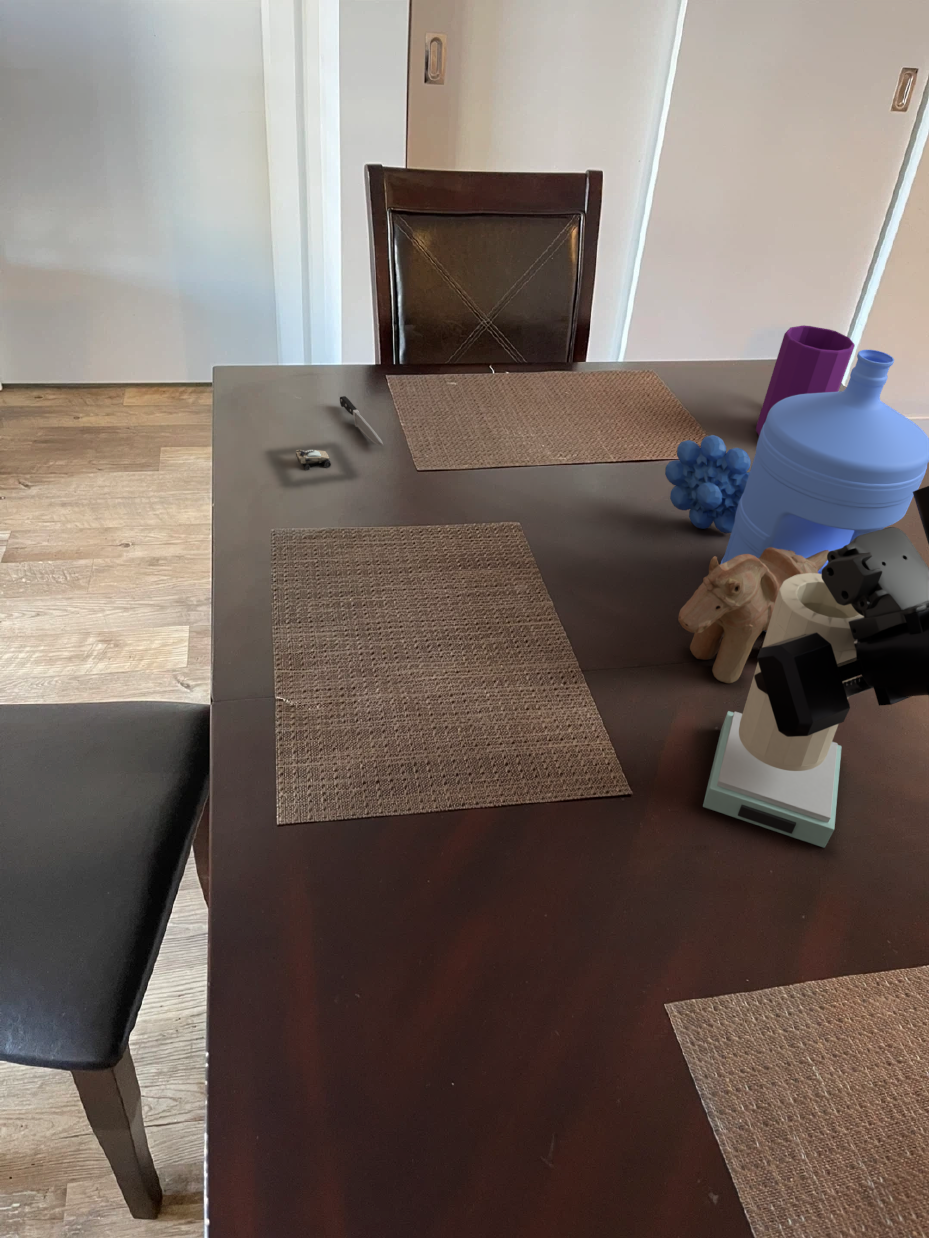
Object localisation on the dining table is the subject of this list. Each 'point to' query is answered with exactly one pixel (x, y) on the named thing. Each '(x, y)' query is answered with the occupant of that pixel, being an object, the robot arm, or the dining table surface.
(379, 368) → the dining table surface
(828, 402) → the water jug
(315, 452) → the toy car
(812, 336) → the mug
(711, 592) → the figurine
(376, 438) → the knife
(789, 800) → the scale
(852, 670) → the robot arm
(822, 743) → the jar
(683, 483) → the blue knobby flower
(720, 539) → the dining table surface
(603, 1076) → the dining table surface
